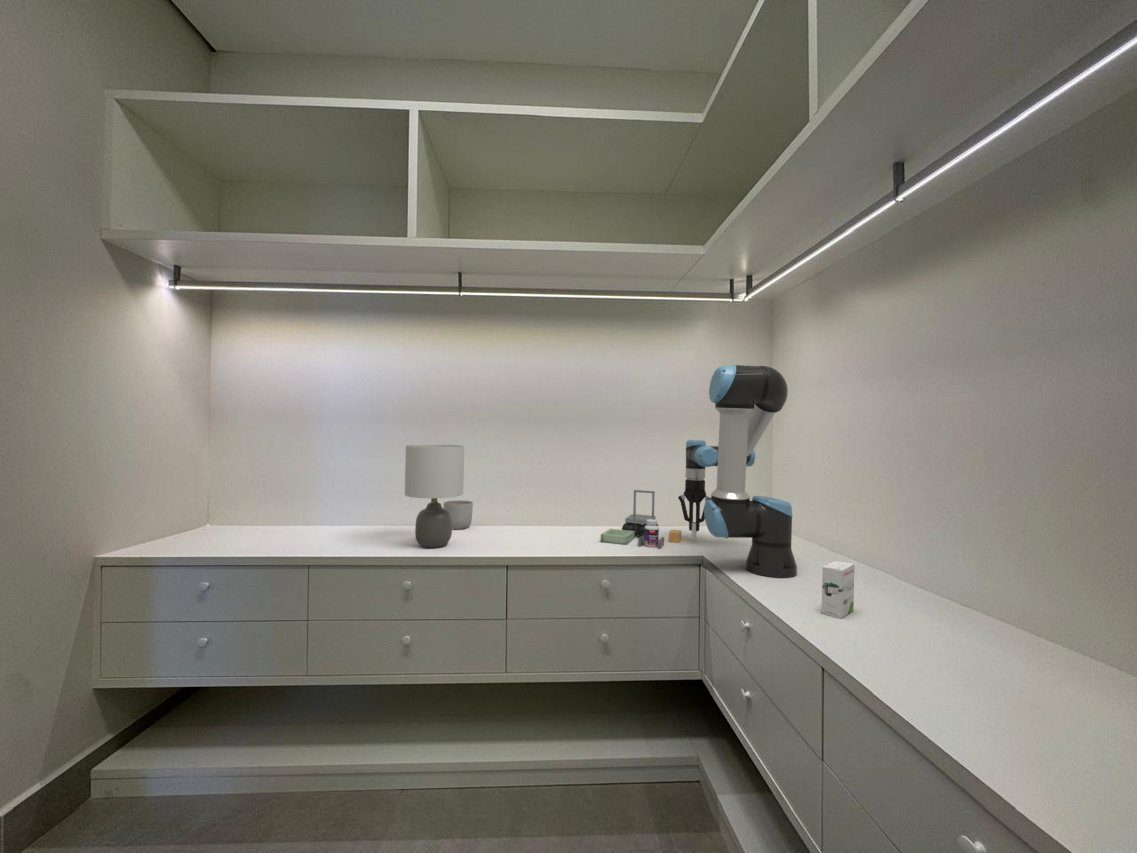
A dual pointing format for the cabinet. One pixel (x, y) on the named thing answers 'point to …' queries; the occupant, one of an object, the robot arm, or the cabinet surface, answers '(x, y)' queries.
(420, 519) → the lamp
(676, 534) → the block
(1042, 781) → the cabinet surface
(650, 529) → the pill bottle
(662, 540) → the pin bracket
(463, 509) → the planter
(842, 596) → the ink box
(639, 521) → the trolley
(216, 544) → the cabinet surface
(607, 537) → the tray
